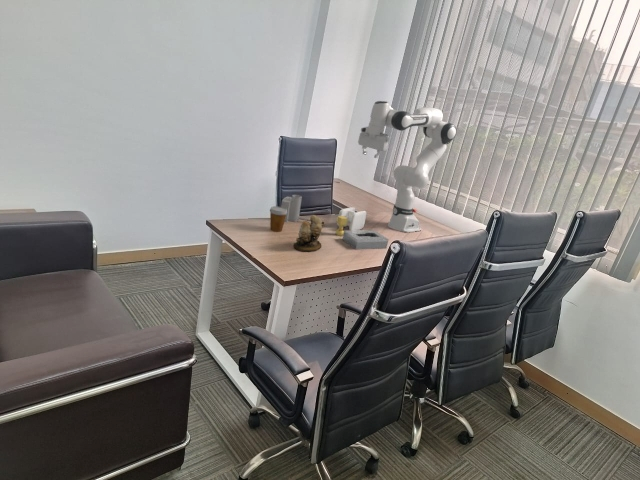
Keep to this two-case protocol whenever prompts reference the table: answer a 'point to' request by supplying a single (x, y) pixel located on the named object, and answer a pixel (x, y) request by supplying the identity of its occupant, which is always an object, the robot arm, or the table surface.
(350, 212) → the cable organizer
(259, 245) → the table surface
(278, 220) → the disposable coffee cup
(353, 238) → the keyhole plate
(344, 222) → the peg
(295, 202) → the electronic device
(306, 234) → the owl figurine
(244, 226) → the table surface
